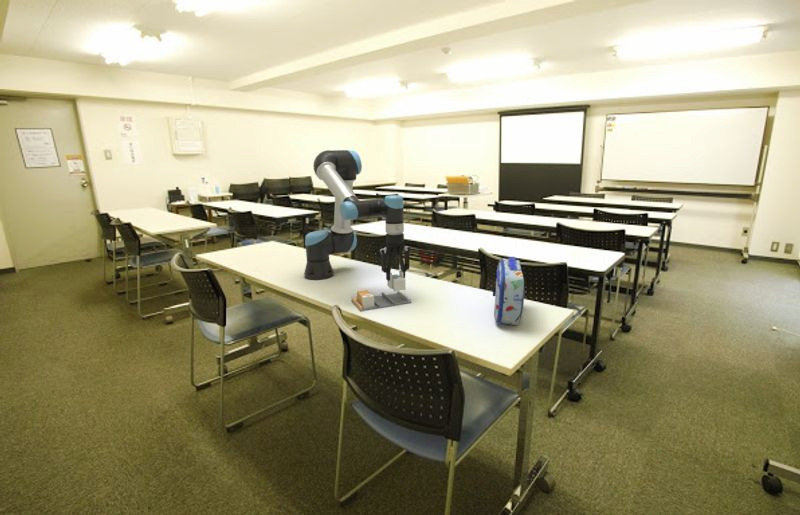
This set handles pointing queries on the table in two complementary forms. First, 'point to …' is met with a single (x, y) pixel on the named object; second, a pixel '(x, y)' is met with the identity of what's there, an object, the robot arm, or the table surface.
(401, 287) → the grey block
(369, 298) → the orange and white block
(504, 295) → the lunch box
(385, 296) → the grey divided tray
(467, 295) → the table surface
